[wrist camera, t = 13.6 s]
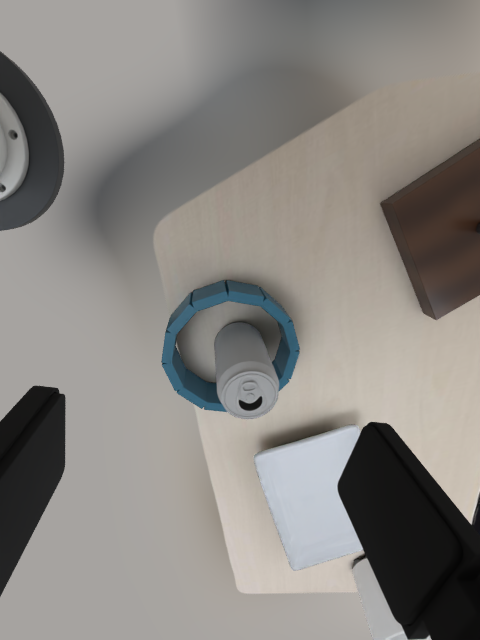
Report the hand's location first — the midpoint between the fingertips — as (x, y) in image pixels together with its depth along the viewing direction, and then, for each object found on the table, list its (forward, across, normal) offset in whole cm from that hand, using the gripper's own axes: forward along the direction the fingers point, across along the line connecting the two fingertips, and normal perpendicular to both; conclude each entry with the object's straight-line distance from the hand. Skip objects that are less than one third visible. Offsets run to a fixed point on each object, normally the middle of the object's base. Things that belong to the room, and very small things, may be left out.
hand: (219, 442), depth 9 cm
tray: (+28, -26, +36) cm, 53 cm away
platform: (+28, -30, -11) cm, 43 cm away
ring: (+28, -4, +10) cm, 30 cm away
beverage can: (+28, -6, +10) cm, 31 cm away
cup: (+28, -45, +57) cm, 78 cm away
